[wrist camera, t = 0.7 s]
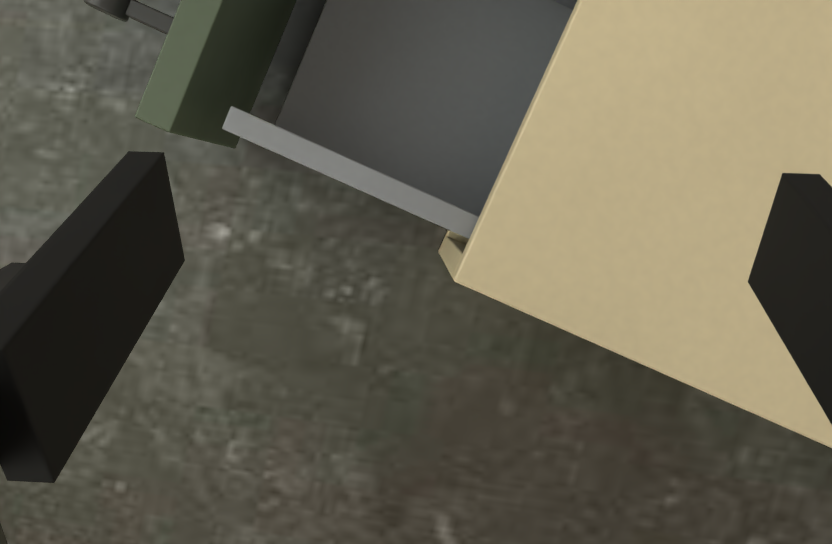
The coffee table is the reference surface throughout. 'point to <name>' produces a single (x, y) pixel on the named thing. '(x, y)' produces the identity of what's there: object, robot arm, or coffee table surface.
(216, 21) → the green-front drawer
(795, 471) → the coffee table surface
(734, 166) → the beige box shell
